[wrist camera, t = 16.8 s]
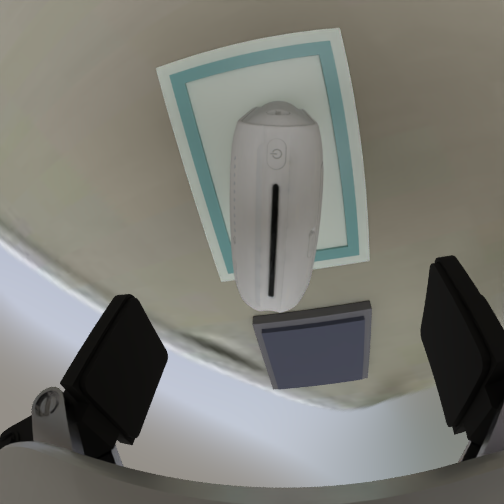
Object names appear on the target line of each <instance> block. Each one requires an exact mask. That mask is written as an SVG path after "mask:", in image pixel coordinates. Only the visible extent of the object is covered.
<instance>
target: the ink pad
mask: <svg viewBox="0 0 504 504" xmlns="http://www.w3.org/2000/svg"><path fill="white" fill-rule="evenodd" d="M371 315H372V308H371V305H370V301H365V302H359V303H353V304H346V305H339V306H333V307H326V308H319V309H311V310H304V311H296V312H288V313H280V314H272V315H263V316H254V317H253V328H254V331H255V334H256V337H257V340H258V343H259V346H260V350H261V353H262V356H263V359H264V362H265V365H266V368H267V371H268V374H269V377H270V381H271V384H272V387H273V389H288V388H299V387H308V386H317V385H326V384H333V383H341V382H347V381H354V380H360V379H364V378H368V367H369V354H370V338H371Z"/></svg>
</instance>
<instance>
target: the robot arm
mask: <svg viewBox="0 0 504 504" xmlns="http://www.w3.org/2000/svg"><path fill="white" fill-rule="evenodd" d="M421 339H422V342H423V345H424V348H425V351H426V354H427V357H428V360H429V363H430V366H431V369H432V372H433V376H434V379H435V382H436V386H437V389H438V392H439V396H440V400H441V404H442V407H443V411H444V415H445V419H446V423H447V425H448V427H453V431H454V434H458V433H462V432H464V431H466V433H467V438H468V440H469V442H468V444H467V446H466V448H465V450H464V452H463V454H462V456H461V458H460V459H459V461H458V463H455V464H452V465H448V466H445V467H441V468H438V469H433V470H429V471H425V472H420V473H416V474H411V475H406V476H401V477H395V478H390V479H384V480H378V481H372V482H365V483H357V484H348V485H337V486H324V487H303V488H266V487H244V486H231V485H220V484H211V483H203V482H196V481H189V480H183V479H177V478H171V477H166V476H161V475H156V474H151V473H147V472H143V471H138V470H134V469H130V468H126V467H123V464H122V461H121V459H120V456H119V453H118V451H117V448H116V445H115V443H116V441H117V440H118V441H119V442H120V443H124V444H130V445H133V442H134V440H135V438H137V437H138V436H139V434H140V431H141V429H142V426H143V423H144V420H145V418H146V415H147V412H148V410H149V407H150V404H151V402H152V399H153V396H154V394H155V391H156V388H157V386H158V383H159V381H160V378H161V376H162V373H163V370H164V368H165V365H166V363H167V360H168V354H167V351H166V349H165V347H164V345H163V344H162V342H161V340H160V338H159V337H158V335H157V333H156V331H155V330H154V328H153V326H152V324H151V322H150V320H149V319H148V317H147V315H146V313H145V311H144V309H143V307H142V306H141V304H140V302H139V300H138V299H137V298H135V297H134V296H133V295H131V294H125V295H117V296H115V297H114V298H113V300H112V301H111V303H110V304H109V306H108V307H107V309H106V310H105V311H104V313H103V315H102V316H101V318H100V319H99V321H98V322H97V324H96V325H95V327H94V328H93V330H92V332H91V333H90V334H89V336H88V338H87V339H86V341H85V342H84V344H83V346H82V347H81V349H80V350H79V352H78V354H77V355H76V357H75V359H74V360H73V362H72V363H71V365H70V367H69V369H68V370H67V372H66V374H65V375H64V377H63V379H62V380H61V382H60V384H61V385H62V386H63V387H64V388H65V391H64V393H63V392H62V391H61V390H60V389H59V388H57V387H50V388H47V389H45V390H43V391H42V392H41V393H40V394H39V395H38V396H37V397H36V399H35V400H34V402H33V405H32V415H31V416H29V417H28V418H26V419H24V420H22V421H21V422H19V423H17V424H15V425H13V426H11V427H10V428H8V429H7V430H5V431H4V432H3V433H2V434H1V436H0V504H504V330H503V328H502V326H501V324H500V322H499V321H498V319H497V317H496V315H495V314H494V312H493V310H492V309H491V307H490V305H489V304H488V302H487V301H486V299H485V298H484V297H483V295H481V294H480V293H479V291H478V289H477V288H476V286H475V285H474V283H473V282H472V280H471V279H470V277H469V276H468V274H467V273H466V271H465V270H464V268H463V267H462V265H461V264H460V263H459V261H458V260H457V258H456V257H455V256H453V255H451V256H445V257H439V258H436V260H435V263H433V264H431V265H430V270H429V278H428V286H427V293H426V300H425V306H424V312H423V318H422V324H421Z"/></svg>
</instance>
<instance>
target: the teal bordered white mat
mask: <svg viewBox="0 0 504 504" xmlns="http://www.w3.org/2000/svg"><path fill="white" fill-rule="evenodd" d="M156 71H157V75H158V78H159V82H160V86H161V89H162V93H163V97H164V100H165V104H166V107H167V111H168V114H169V118H170V121H171V125H172V128H173V132H174V135H175V138H176V142H177V145H178V149H179V152H180V155H181V159H182V162H183V165H184V168H185V172H186V175H187V178H188V181H189V185H190V188H191V191H192V194H193V197H194V201H195V204H196V207H197V210H198V213H199V216H200V219H201V222H202V225H203V229H204V232H205V235H206V238H207V241H208V244H209V247H210V250H211V253H212V256H213V259H214V262H215V265H216V268H217V271H218V273H219V276H220V279H221V282H224V281H232V280H235V276H234V270H233V262H232V251H231V233H230V163H231V150H232V142H233V136H234V132H235V128H236V124H237V121H238V120H239V119H240V118H241V117H242V116H244V115H245V114H246V113H247V112H249V111H250V110H251V109H252V108H254V107H262V106H263V105H265V104H266V103H269V102H272V101H284V102H288V103H290V104H292V105H294V106H295V107H296V108H298V109H304V110H305V111H306V112H307V113H308V114H309V115H310V116H311V117H312V118H313V119H314V120H315V121H316V122H317V123H318V125H319V130H320V135H321V140H322V150H323V169H324V170H323V194H322V208H321V219H320V228H319V235H318V242H317V249H316V255H315V260H314V265H313V269H319V268H326V267H333V266H340V265H346V264H353V263H359V262H366V261H370V257H369V229H368V211H367V197H366V185H365V174H364V164H363V155H362V147H361V139H360V131H359V124H358V118H357V111H356V105H355V99H354V93H353V88H352V82H351V77H350V72H349V67H348V62H347V57H346V53H345V48H344V44H343V40H342V36H341V31H340V28H331V29H321V30H312V31H303V32H296V33H289V34H283V35H277V36H271V37H266V38H261V39H256V40H251V41H246V42H242V43H238V44H233V45H229V46H225V47H221V48H218V49H214V50H210V51H207V52H203V53H200V54H196V55H193V56H190V57H187V58H184V59H181V60H178V61H175V62H172V63H169V64H166V65H163V66H160V67H158V68H156Z"/></svg>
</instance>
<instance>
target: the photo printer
mask: <svg viewBox="0 0 504 504" xmlns="http://www.w3.org/2000/svg"><path fill="white" fill-rule="evenodd" d="M323 170H324V169H323V150H322V140H321V135H320V130H319V125H318V123H317V122H316V121H315V120H314V119H313V118H312V117H311V116H310V115H309V114H308V113H307V112H306V111H305V110H304V109H298V108H296V107H295V106H294V105H292V104H290V103H288V102H284V101H272V102H269V103H266V104H265V105H263V106H262V107H254V108H252V109H251V110H250V111H249V112H247V113H246V114H245V115H244V116H242V117H241V118H240V119H239V120H238V121H237V124H236V128H235V132H234V136H233V142H232V150H231V163H230V233H231V251H232V262H233V270H234V276H235V281H236V285H237V288H238V290H239V293H240V295H241V297H242V299H243V300H244V302H245V303H246V304H247V305H249V306H250V307H252V308H253V309H255V310H257V311H265V310H271V311H276V312H279V313H281V312H285V311H288V310H289V309H291V308H293V307H294V306H296V305H297V304H298V303H299V301H300V300H301V298H302V296H303V295H304V293H305V291H306V289H307V287H308V285H309V282H310V278H311V274H312V270H313V265H314V260H315V255H316V249H317V242H318V235H319V228H320V219H321V208H322V194H323Z"/></svg>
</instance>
